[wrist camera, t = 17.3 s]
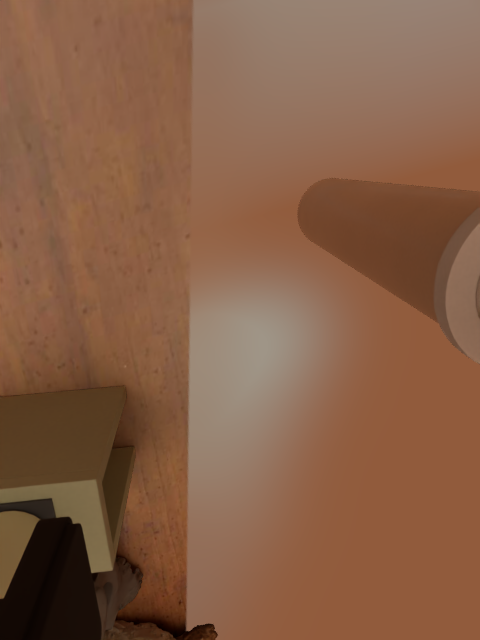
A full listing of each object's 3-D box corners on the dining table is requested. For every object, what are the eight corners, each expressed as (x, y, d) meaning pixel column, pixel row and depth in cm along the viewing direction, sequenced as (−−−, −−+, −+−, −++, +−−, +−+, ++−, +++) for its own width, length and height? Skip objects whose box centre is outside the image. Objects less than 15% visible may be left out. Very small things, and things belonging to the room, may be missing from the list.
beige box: (125, 385, 44) (86, 511, 28) (135, 456, 47) (105, 608, 31) (-4, 396, 43) (-121, 533, 27) (14, 468, 46) (-83, 631, 30)
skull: (116, 614, 54) (101, 728, 43) (-41, 566, 49) (-102, 682, 38) (164, 542, 51) (162, 643, 41) (5, 484, 46) (-46, 581, 35)
